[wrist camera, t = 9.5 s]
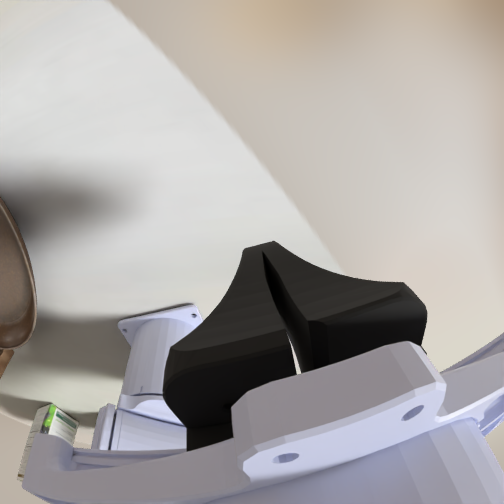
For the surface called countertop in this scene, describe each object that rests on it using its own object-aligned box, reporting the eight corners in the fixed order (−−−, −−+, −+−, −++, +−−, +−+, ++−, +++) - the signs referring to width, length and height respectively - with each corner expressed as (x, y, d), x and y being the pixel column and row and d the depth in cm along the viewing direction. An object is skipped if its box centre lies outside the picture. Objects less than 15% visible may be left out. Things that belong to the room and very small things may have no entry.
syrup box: (80, 422, 33) (64, 500, 20) (63, 426, 34) (47, 497, 21) (51, 402, 30) (29, 483, 17) (36, 408, 31) (15, 480, 18)
